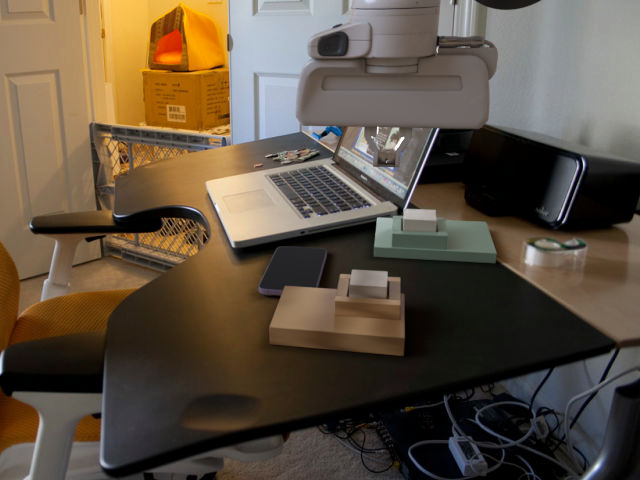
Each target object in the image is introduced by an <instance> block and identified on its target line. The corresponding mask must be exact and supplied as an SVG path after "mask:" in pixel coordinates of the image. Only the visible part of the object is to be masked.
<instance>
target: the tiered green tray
mask: <svg viewBox="0 0 640 480" xmlns="http://www.w3.org/2000/svg"><path fill="white" fill-rule="evenodd" d="M436 217H437V228H436V232H415V231H403V215H392V217H376V225H375V234H374V235H375V236H374V244H373V257H374V258H389V259H391V258H392V259H405V260H407V259H410V260H426V261H428V260H429V261H443V262H444V261H446V262H461V263H462V262H464V263H481V264H482V263H483V264H497V256H498V253H497V249H496V246H495V244H494V241H493V240H494V239H493V238H492V235H491V231H490V229H489V226H488V223H487V221H479V220H478V221H476V220H474V221H473V220H453V219H451V220H449V219H446V218H445V216H444V217H443V216H441V217H440V216H436Z"/></svg>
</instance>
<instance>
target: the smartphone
mask: <svg viewBox="0 0 640 480" xmlns="http://www.w3.org/2000/svg"><path fill="white" fill-rule="evenodd" d="M327 257H328V250H327V249H326V248H322V247H305V246H287V245H285V246H284V245H283V246H278V247H277V248H276V249H275V251H274V253H273V255H272V256H271V259H270V261H269V263H268V265H267V267H266V269H265V272H264V274H263V276H262V277H261V280H260V282H259V284H258V293H260V294H261V295H265V296H278V297H279V296H280V297H281V295H282V292H283V289H284V287H285V286H296V287H311V288H319V287H320V283H321V280H322V275H323V272H324V268H325V264H326V261H327Z"/></svg>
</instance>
